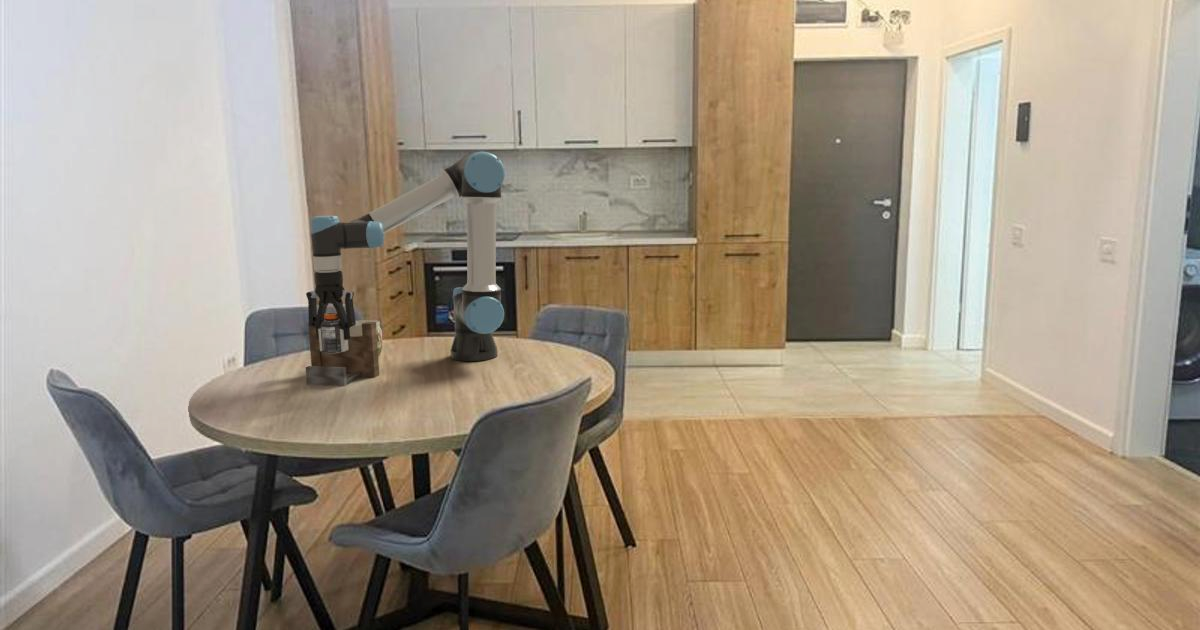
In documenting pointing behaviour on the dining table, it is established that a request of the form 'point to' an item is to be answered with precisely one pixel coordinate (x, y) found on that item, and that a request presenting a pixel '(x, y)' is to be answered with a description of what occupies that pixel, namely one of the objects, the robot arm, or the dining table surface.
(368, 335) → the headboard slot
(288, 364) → the dining table surface
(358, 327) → the pitcher
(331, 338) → the pill bottle
